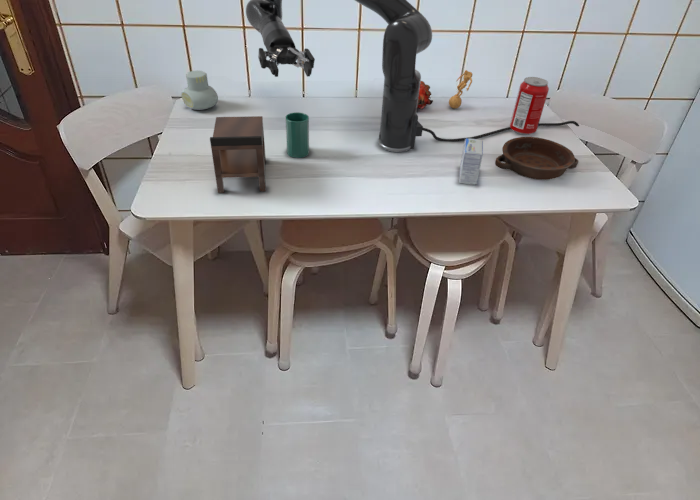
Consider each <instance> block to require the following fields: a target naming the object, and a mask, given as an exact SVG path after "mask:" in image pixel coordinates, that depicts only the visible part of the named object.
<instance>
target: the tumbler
mask: <svg viewBox="0 0 700 500" xmlns="http://www.w3.org/2000/svg"><path fill="white" fill-rule="evenodd" d="M285 135H286V136H285V137H286V153H287V155H288V156H289V157H291V158H295V159H302V158H305V157H307V156H308V155H310V117H309V115H308V114H306V113H304V112H290V113H288V114H286V115H285Z"/></svg>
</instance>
